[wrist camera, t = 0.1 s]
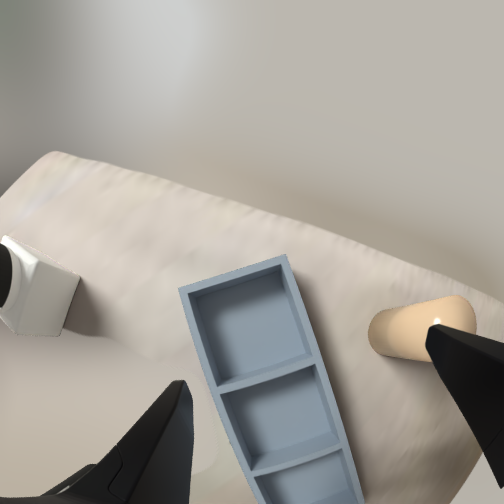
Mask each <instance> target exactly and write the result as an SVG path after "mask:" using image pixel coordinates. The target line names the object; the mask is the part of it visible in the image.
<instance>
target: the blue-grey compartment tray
mask: <svg viewBox="0 0 504 504" xmlns="http://www.w3.org/2000/svg"><path fill="white" fill-rule="evenodd" d="M178 290H179V294H180V297H181V301H182V305H183V308H184V312H185V315H186V319H187V322H188V325H189V329H190V332H191V335H192V338H193V342H194V345H195V348H196V351H197V354H198V357H199V360H200V363H201V366H202V369H203V372H204V375H205V378H206V381H207V384H208V386H209V389H210V392H211V395H212V397H213V400H214V403H215V405H216V408H217V411H218V413H219V416H220V418H221V421H222V424H223V426H224V429H225V431H226V433H227V436H228V438H229V441H230V443H231V446H232V448H233V450H234V453H235V455H236V457H237V459H238V462H239V464H240V466H241V468H242V471H243V473H244V475H245V477H246V479H247V481H248V483H249V486H250V488H251V490H252V492H253V494H254V496H255V498H256V500H257V502H258V504H365V501H364V497H363V494H362V490H361V486H360V482H359V479H358V475H357V471H356V468H355V464H354V461H353V457H352V454H351V450H350V447H349V443H348V440H347V436H346V433H345V430H344V426H343V423H342V420H341V416H340V413H339V410H338V407H337V403H336V400H335V397H334V394H333V391H332V387H331V384H330V381H329V378H328V375H327V372H326V369H325V366H324V363H323V360H322V356H321V353H320V350H319V347H318V344H317V341H316V338H315V335H314V332H313V330H312V327H311V324H310V321H309V318H308V315H307V312H306V309H305V306H304V303H303V301H302V298H301V295H300V292H299V289H298V286H297V284H296V281H295V278H294V275H293V272H292V270H291V267H290V264H289V261H288V259H287V256H286V254H284V255H281V256H278V257H275V258H272V259H268V260H265V261H262V262H259V263H256V264H253V265H250V266H247V267H244V268H240V269H237V270H234V271H231V272H228V273H225V274H221V275H218V276H215V277H212V278H209V279H206V280H202V281H199V282H196V283H193V284H190V285H186V286H183V287H180V288H178Z"/></svg>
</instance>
